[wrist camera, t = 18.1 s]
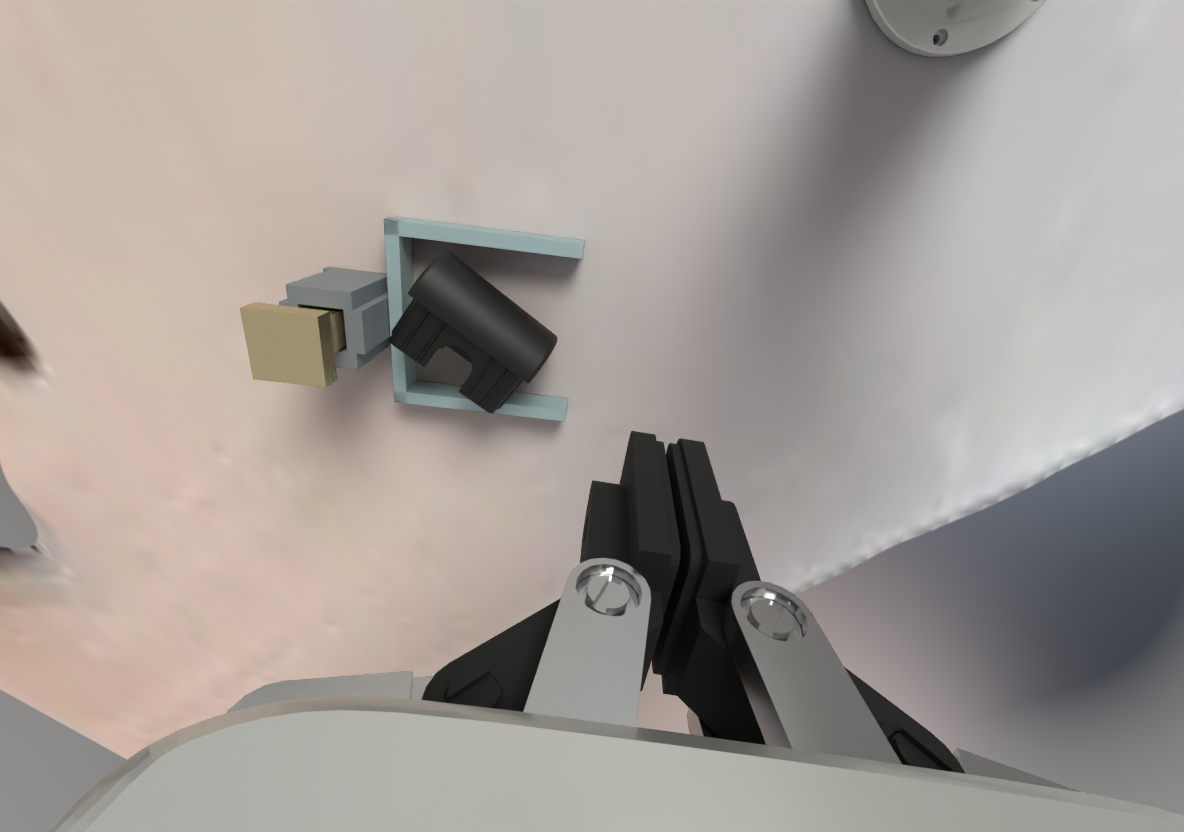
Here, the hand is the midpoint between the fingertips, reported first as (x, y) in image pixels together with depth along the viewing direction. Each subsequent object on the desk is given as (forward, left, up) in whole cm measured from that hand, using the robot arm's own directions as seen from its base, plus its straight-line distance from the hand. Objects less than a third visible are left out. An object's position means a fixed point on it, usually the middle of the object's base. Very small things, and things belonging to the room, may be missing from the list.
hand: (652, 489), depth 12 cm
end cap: (+5, -10, -30) cm, 32 cm away
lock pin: (+5, -20, -29) cm, 35 cm away
